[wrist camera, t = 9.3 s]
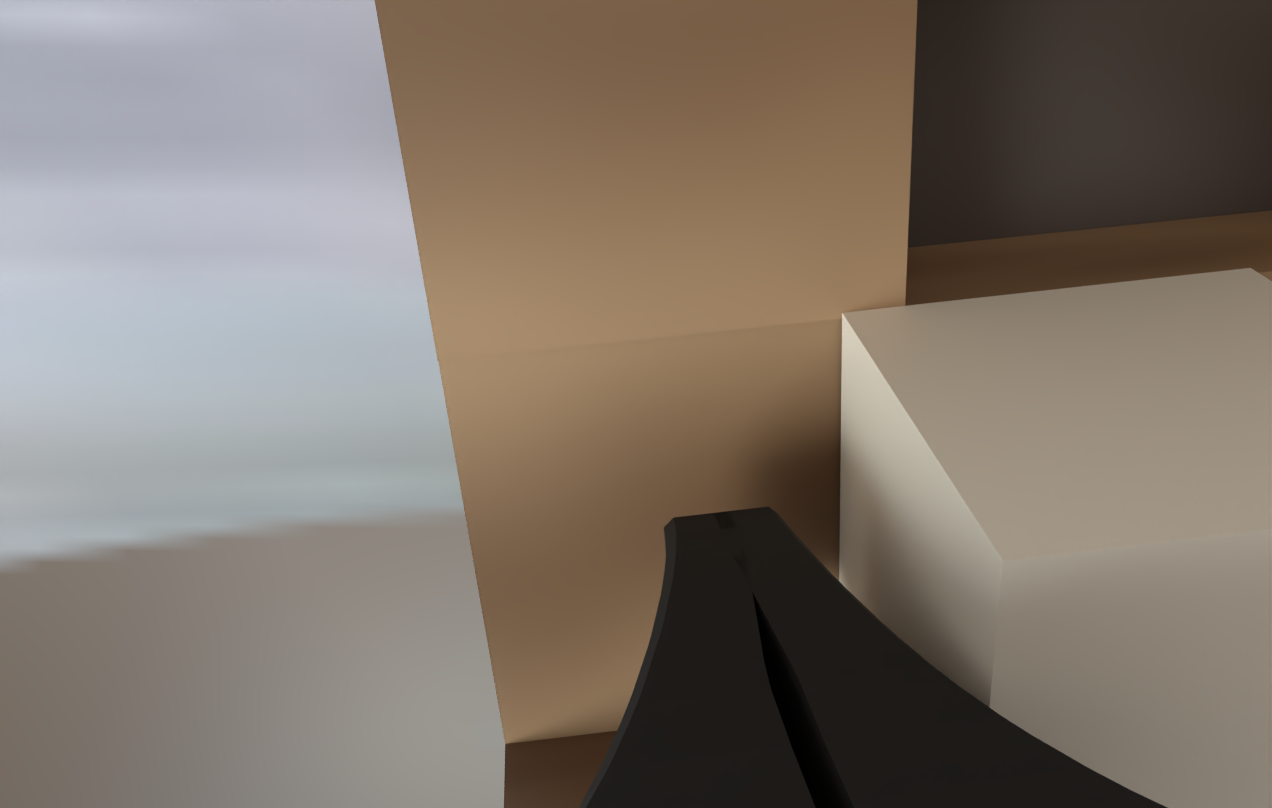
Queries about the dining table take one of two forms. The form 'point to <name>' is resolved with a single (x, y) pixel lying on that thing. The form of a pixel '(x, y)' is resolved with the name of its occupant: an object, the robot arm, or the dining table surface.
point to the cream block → (1079, 517)
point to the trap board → (759, 259)
